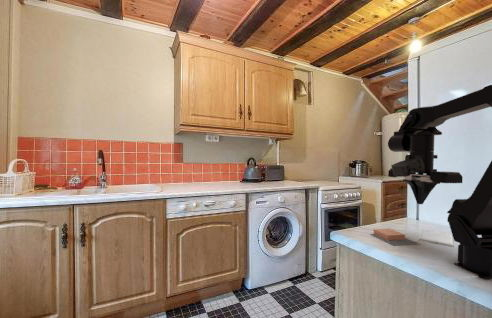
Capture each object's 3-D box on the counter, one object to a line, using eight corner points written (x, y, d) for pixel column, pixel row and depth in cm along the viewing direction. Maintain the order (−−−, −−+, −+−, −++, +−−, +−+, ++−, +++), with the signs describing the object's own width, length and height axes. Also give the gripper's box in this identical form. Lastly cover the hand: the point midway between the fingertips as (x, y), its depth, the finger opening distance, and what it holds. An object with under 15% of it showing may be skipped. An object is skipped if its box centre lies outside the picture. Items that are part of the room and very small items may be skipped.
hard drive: (421, 228, 80) (418, 238, 71) (452, 234, 75) (454, 244, 66) (421, 233, 80) (418, 243, 71) (452, 239, 75) (454, 250, 66)
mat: (420, 245, 68) (420, 244, 68) (393, 247, 66) (393, 245, 66) (392, 234, 77) (392, 232, 77) (369, 235, 76) (369, 234, 76)
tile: (404, 234, 71) (389, 228, 77) (388, 235, 70) (373, 229, 76) (404, 239, 71) (389, 233, 77) (387, 240, 70) (373, 234, 76)
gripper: (374, 151, 76) (373, 198, 76) (429, 150, 58) (427, 212, 58) (403, 152, 78) (402, 198, 78) (465, 151, 60) (463, 211, 60)
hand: (419, 204), depth 68 cm, fingers closed
